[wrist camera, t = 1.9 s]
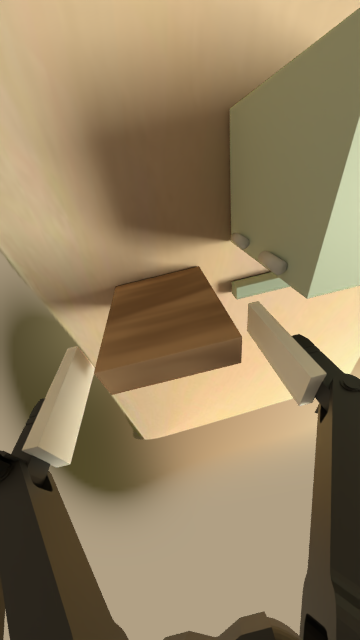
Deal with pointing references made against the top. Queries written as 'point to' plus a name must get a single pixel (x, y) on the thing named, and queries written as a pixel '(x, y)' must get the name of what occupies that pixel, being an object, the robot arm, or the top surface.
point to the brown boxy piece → (165, 332)
